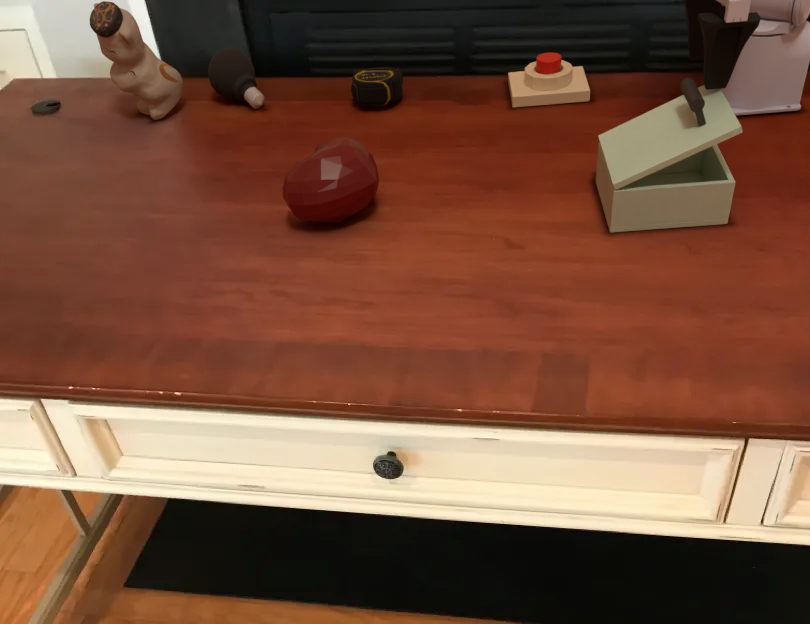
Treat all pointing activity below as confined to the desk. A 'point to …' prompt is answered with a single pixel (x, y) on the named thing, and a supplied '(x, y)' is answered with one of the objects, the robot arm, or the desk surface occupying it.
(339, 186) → the heart
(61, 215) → the desk surface
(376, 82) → the tape measure
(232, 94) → the dark brown bulb-shaped piece
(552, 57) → the power button
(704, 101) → the freezer lid
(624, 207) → the box
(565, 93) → the control block
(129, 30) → the figurine
